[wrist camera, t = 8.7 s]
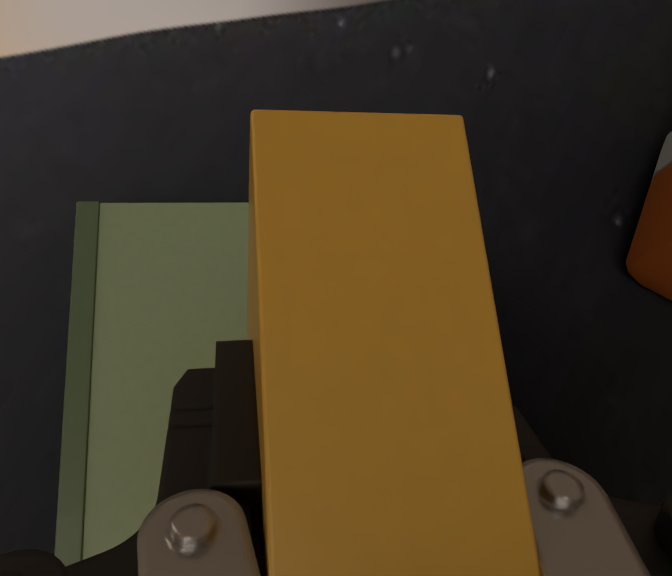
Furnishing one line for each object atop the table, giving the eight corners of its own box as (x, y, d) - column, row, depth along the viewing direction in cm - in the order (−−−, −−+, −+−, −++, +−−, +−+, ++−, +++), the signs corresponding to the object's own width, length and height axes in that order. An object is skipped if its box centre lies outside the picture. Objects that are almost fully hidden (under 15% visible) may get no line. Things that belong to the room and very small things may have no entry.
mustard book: (255, 655, 16) (287, 1212, 4) (245, 330, 19) (245, 106, 7) (355, 641, 17) (639, 1097, 5) (330, 326, 20) (466, 113, 8)
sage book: (68, 819, 17) (32, 894, 14) (97, 233, 23) (76, 201, 20) (512, 738, 20) (558, 786, 17) (439, 229, 26) (464, 200, 23)
